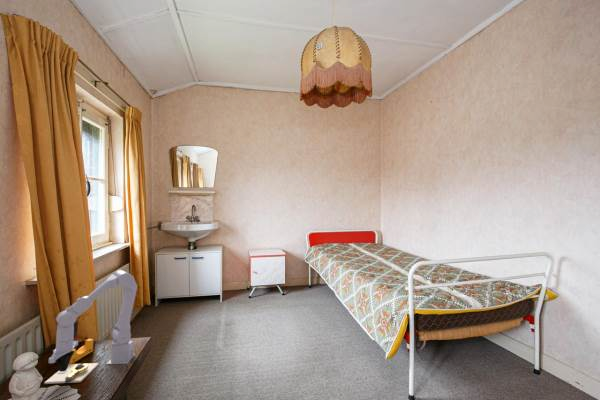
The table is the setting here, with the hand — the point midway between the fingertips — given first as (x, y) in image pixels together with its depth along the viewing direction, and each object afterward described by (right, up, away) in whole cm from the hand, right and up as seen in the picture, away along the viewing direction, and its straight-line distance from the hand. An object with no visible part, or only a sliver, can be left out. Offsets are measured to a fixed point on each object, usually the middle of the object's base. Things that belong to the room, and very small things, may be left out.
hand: (63, 370), depth 117 cm
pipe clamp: (-8, -5, +17) cm, 20 cm away
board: (+1, -4, +4) cm, 6 cm away
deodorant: (-18, -5, +23) cm, 29 cm away
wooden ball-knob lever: (+4, -3, +2) cm, 5 cm away
